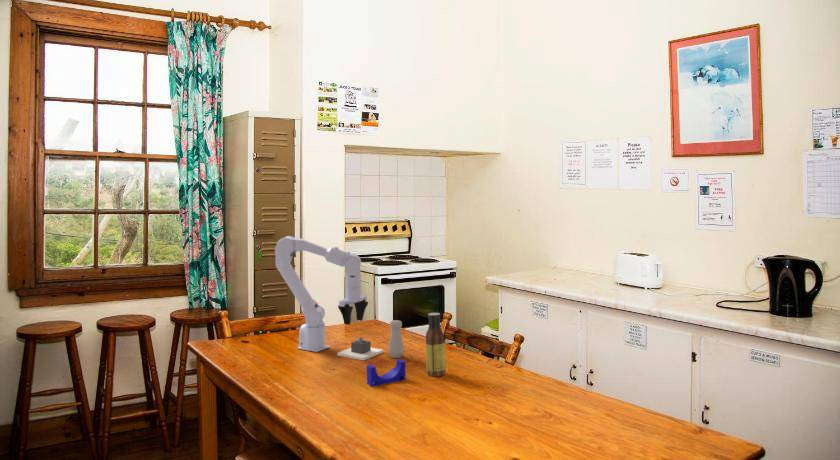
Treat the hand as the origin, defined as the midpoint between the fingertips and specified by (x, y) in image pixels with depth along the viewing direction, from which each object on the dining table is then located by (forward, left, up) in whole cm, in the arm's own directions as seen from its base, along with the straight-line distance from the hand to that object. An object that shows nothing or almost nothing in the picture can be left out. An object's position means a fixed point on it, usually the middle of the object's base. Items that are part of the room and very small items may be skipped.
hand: (353, 322), depth 215 cm
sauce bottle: (+42, -11, -10) cm, 45 cm away
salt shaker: (+20, -1, -10) cm, 22 cm away
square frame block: (+7, -5, -9) cm, 12 cm away
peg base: (+7, -5, -10) cm, 13 cm away
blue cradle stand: (+32, -25, -10) cm, 42 cm away
